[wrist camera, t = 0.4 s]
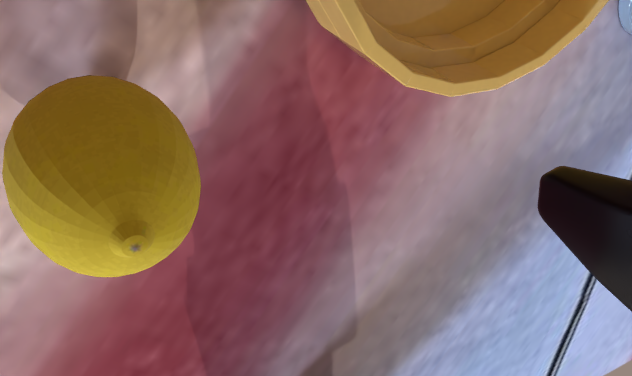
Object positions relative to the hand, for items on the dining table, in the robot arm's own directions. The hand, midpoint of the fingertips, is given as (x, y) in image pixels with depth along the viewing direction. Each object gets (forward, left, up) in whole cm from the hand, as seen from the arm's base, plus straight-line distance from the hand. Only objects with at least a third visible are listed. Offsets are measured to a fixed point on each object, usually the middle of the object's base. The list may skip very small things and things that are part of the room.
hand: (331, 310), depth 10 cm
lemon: (-2, +3, -15) cm, 15 cm away
